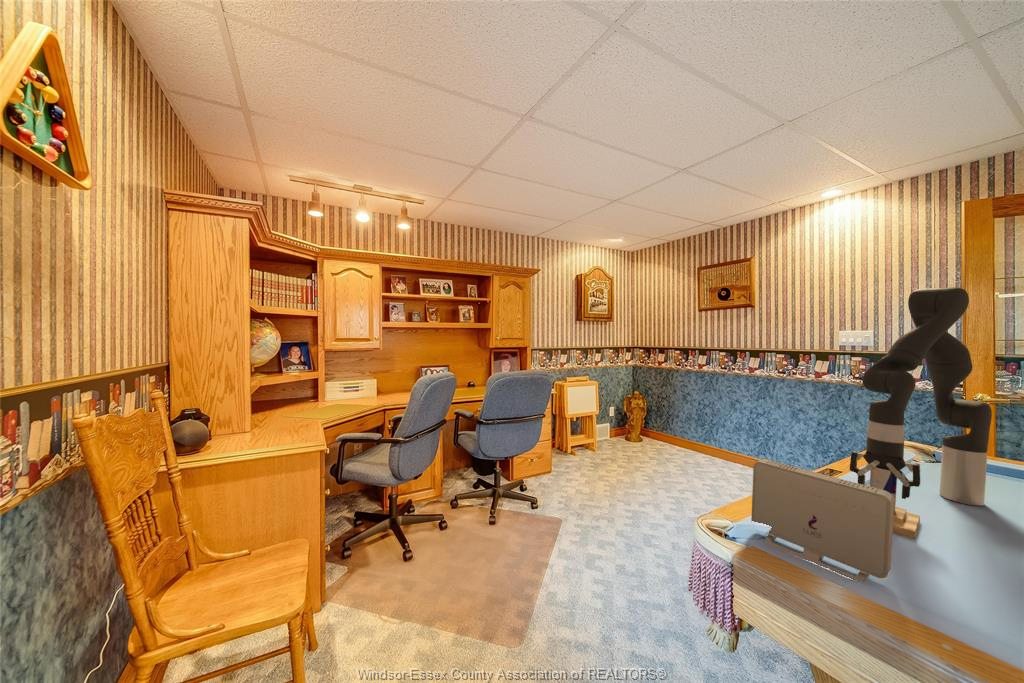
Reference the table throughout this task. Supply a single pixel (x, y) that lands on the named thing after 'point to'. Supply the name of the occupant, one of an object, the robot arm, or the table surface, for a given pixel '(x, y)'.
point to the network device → (825, 517)
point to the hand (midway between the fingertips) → (882, 492)
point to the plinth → (905, 523)
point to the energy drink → (884, 481)
